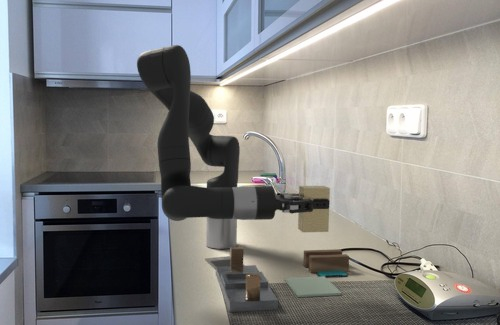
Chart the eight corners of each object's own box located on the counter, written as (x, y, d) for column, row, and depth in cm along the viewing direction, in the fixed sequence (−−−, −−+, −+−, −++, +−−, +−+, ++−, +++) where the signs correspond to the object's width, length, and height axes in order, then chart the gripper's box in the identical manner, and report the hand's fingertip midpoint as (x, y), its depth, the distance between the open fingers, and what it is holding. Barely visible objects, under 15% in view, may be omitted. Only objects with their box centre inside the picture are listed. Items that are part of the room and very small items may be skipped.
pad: (284, 280, 126) (284, 278, 126) (324, 278, 128) (324, 276, 128) (297, 297, 114) (297, 294, 114) (341, 295, 116) (341, 292, 116)
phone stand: (303, 265, 139) (303, 250, 139) (339, 263, 141) (339, 249, 140) (311, 273, 132) (311, 257, 132) (348, 271, 134) (349, 256, 133)
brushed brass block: (298, 228, 121) (299, 185, 120) (322, 228, 122) (324, 185, 122) (302, 232, 117) (304, 188, 117) (328, 231, 118) (329, 188, 118)
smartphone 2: (330, 258, 144) (348, 274, 129) (330, 261, 144) (348, 277, 130) (304, 259, 143) (320, 276, 128) (304, 262, 143) (320, 279, 128)
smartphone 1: (252, 273, 132) (252, 270, 132) (221, 276, 129) (221, 274, 129) (232, 258, 146) (232, 255, 146) (204, 260, 143) (204, 258, 143)
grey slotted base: (215, 274, 130) (215, 246, 129) (255, 272, 132) (255, 245, 131) (229, 312, 105) (230, 278, 105) (278, 309, 107) (278, 276, 106)
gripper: (258, 190, 109) (336, 190, 113) (247, 182, 123) (316, 182, 126) (258, 226, 110) (335, 224, 113) (246, 213, 124) (316, 212, 127)
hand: (325, 202), depth 120 cm, fingers closed on brushed brass block, 4 cm apart
